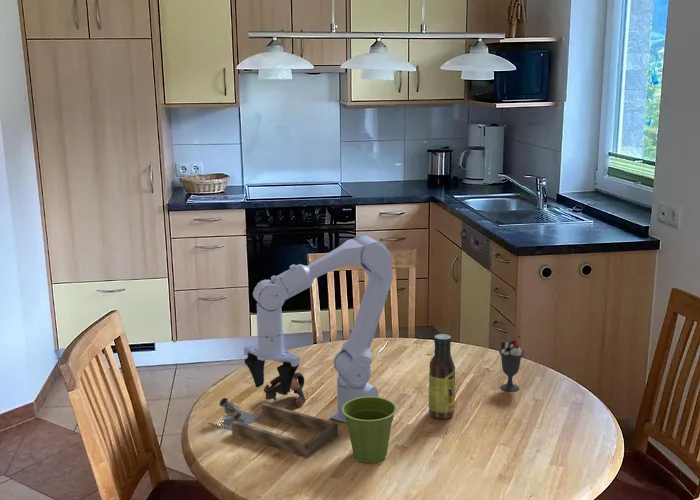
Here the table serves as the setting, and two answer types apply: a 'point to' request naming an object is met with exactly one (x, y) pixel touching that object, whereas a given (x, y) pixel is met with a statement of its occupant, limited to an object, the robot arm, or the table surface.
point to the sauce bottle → (442, 379)
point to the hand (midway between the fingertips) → (272, 389)
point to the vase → (232, 409)
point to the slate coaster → (248, 417)
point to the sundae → (510, 362)
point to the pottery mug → (295, 386)
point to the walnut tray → (285, 443)
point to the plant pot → (369, 426)
